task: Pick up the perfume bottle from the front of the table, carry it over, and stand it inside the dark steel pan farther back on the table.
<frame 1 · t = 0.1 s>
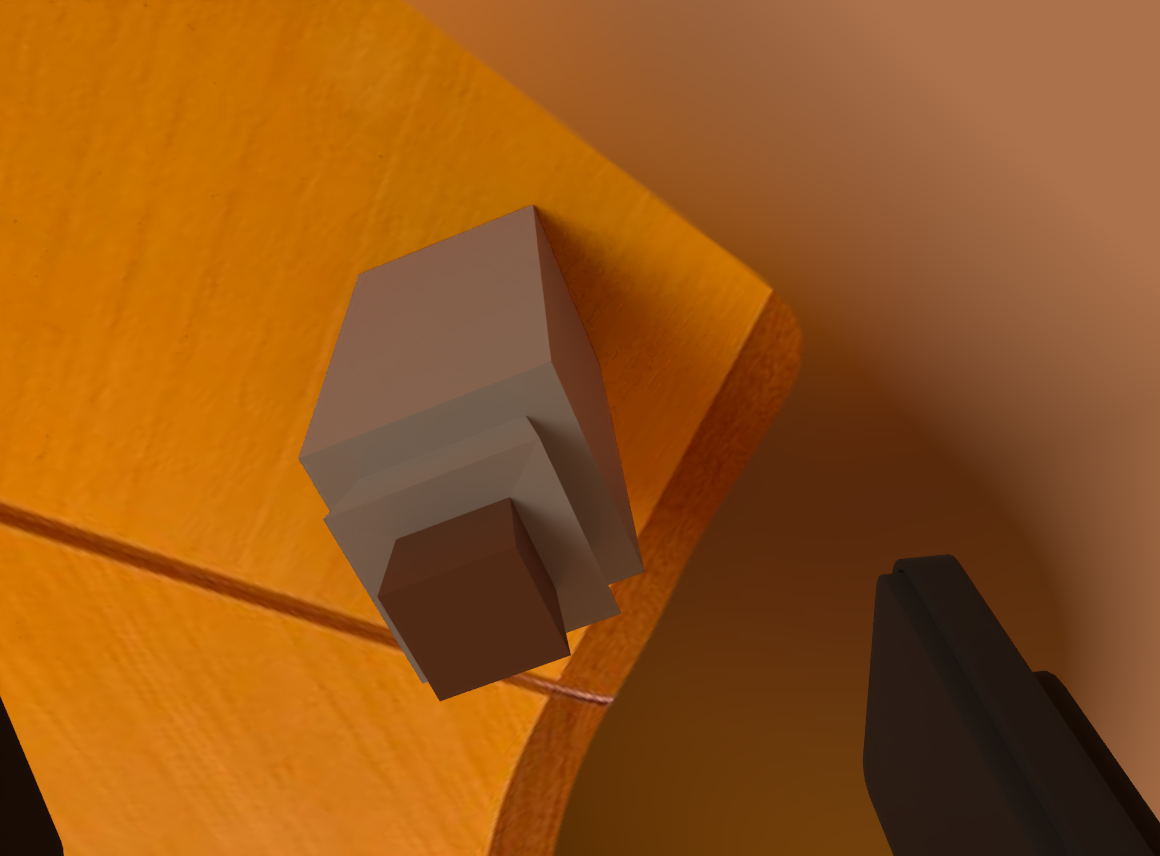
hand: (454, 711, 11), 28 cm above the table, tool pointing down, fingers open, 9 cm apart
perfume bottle: (482, 319, 40), on the table
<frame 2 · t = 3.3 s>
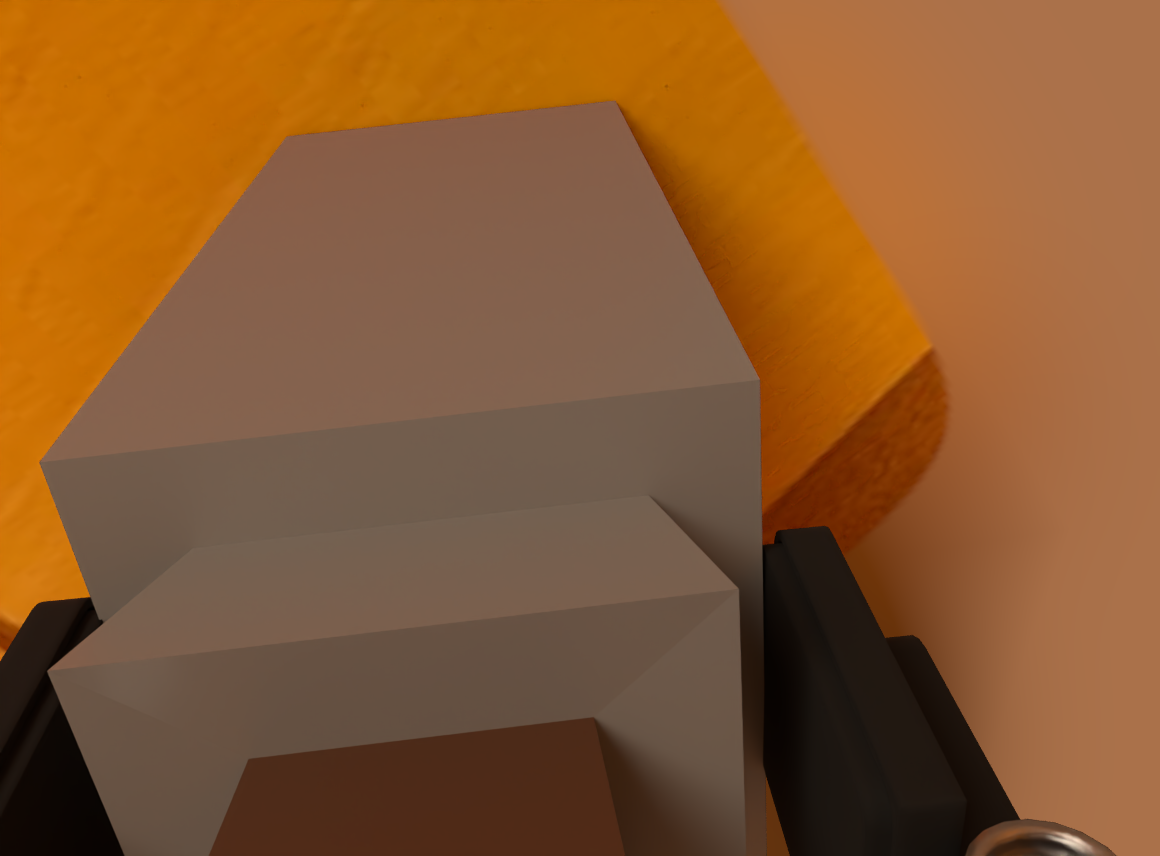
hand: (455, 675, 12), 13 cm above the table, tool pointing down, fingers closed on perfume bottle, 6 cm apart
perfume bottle: (474, 271, 24), on the table, touching gripper
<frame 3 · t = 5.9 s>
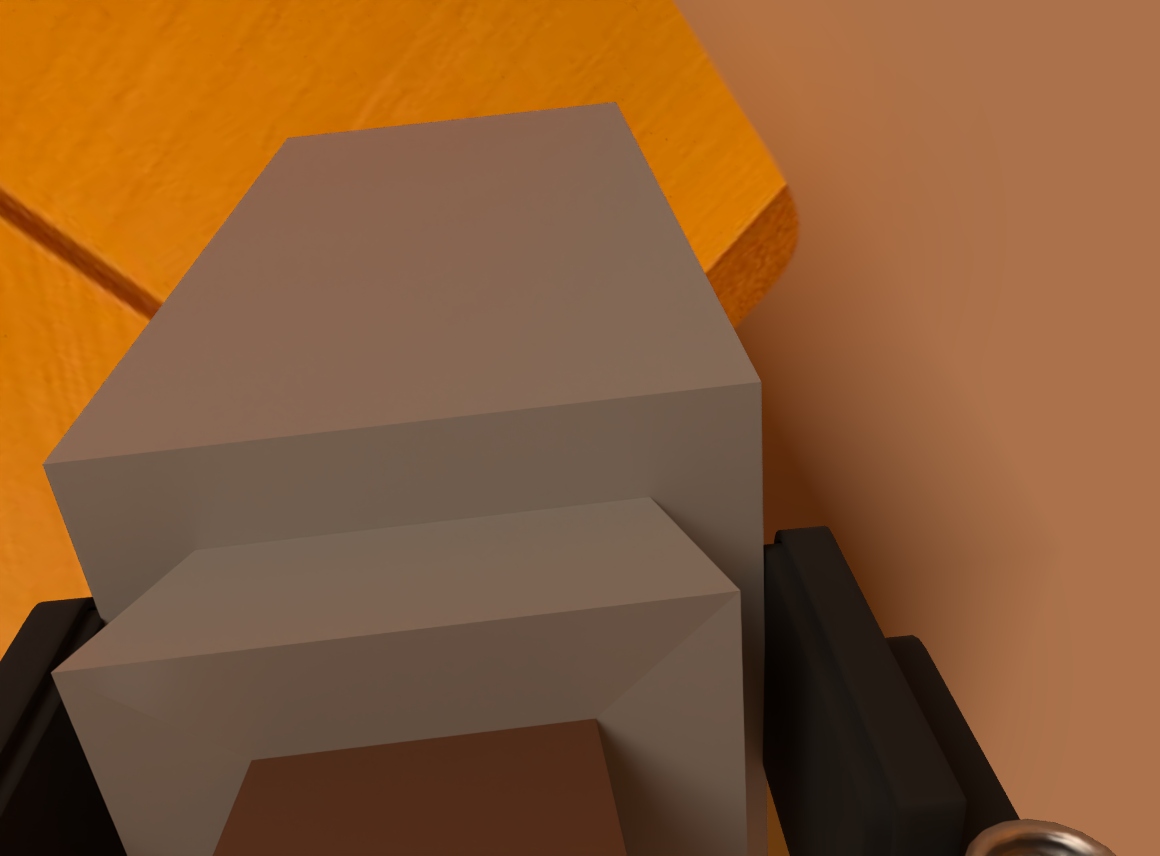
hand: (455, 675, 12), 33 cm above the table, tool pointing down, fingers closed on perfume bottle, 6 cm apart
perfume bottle: (475, 272, 24), point 19 cm above the table, touching gripper
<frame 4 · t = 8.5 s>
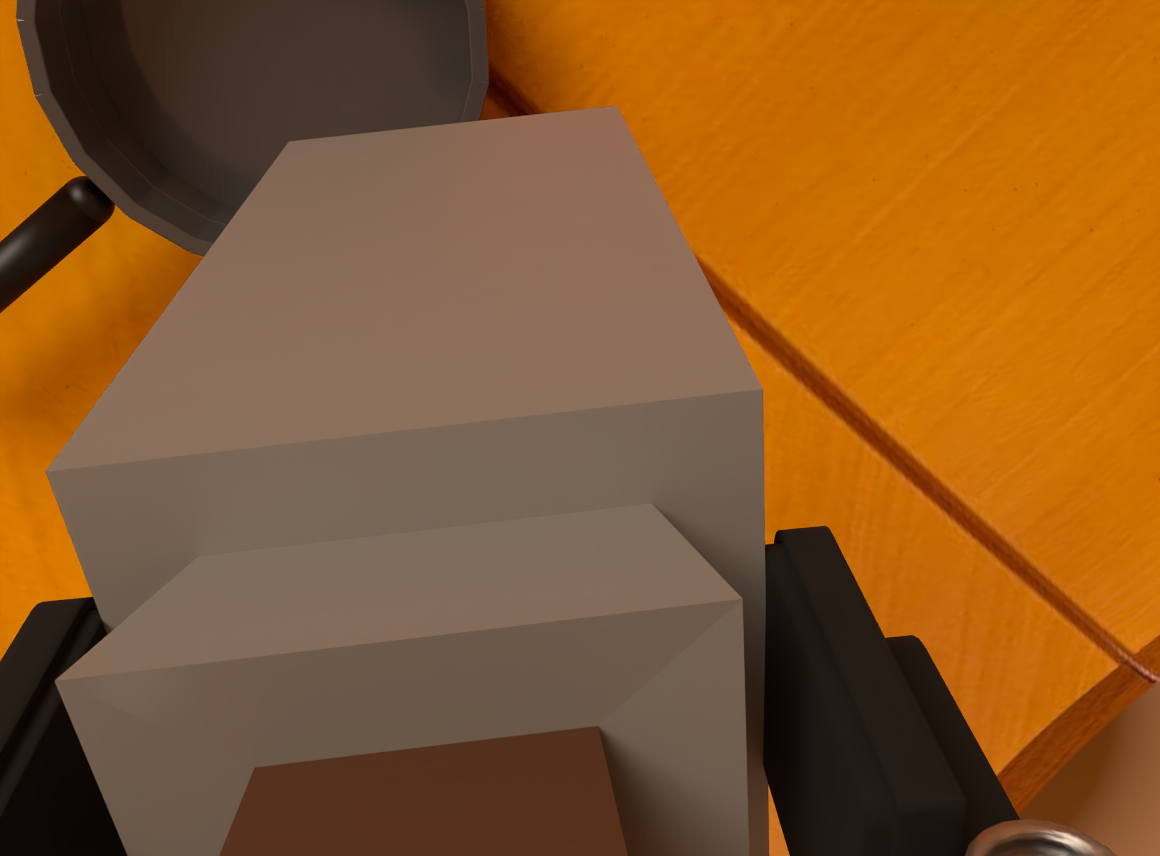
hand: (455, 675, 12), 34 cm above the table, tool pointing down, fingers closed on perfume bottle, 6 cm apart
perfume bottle: (476, 275, 24), point 20 cm above the table, touching gripper
pan: (284, 31, 40), on the table
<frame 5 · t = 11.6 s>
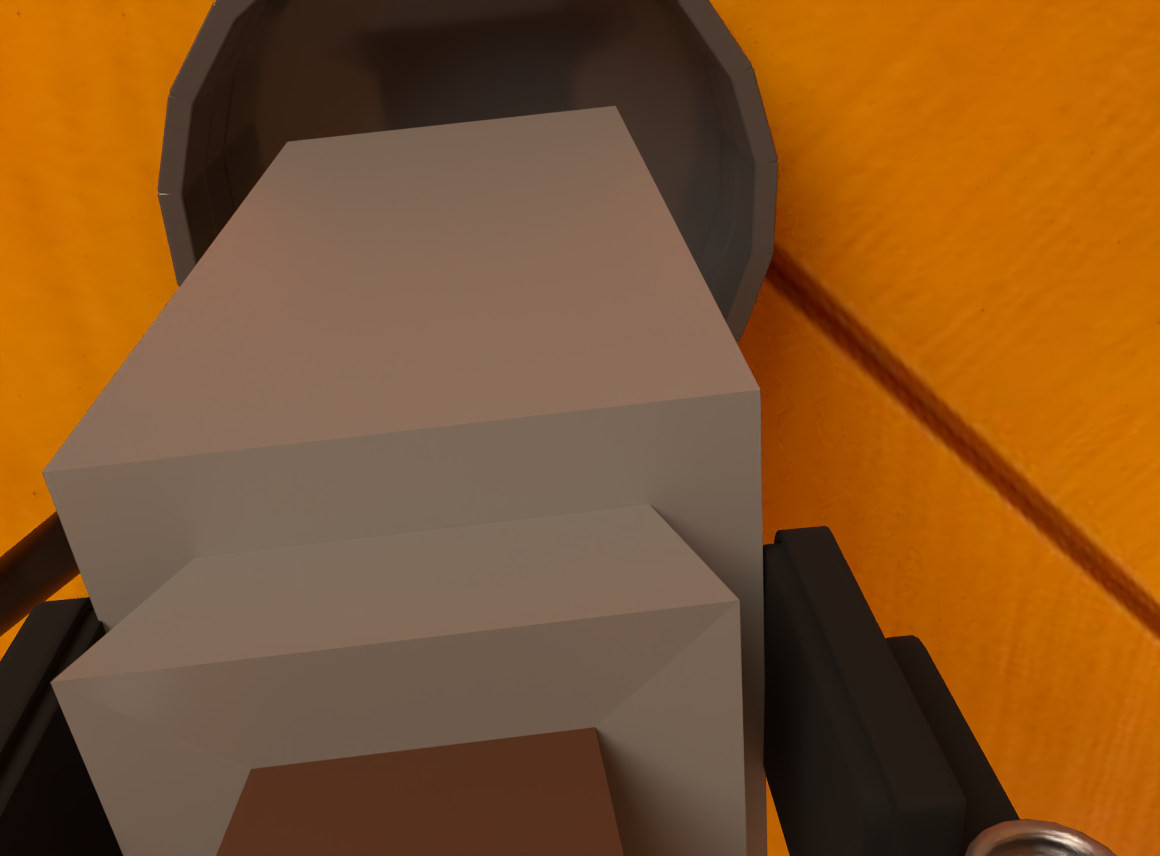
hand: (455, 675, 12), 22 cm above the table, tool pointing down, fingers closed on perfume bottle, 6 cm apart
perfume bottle: (474, 276, 24), point 9 cm above the table, touching gripper
pan handle: (100, 516, 31), point 3 cm above the table
pan: (478, 173, 31), on the table
when the fingers open (14 cm above the table, at t = 14.1 s): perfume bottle stays where it is, resting on pan.
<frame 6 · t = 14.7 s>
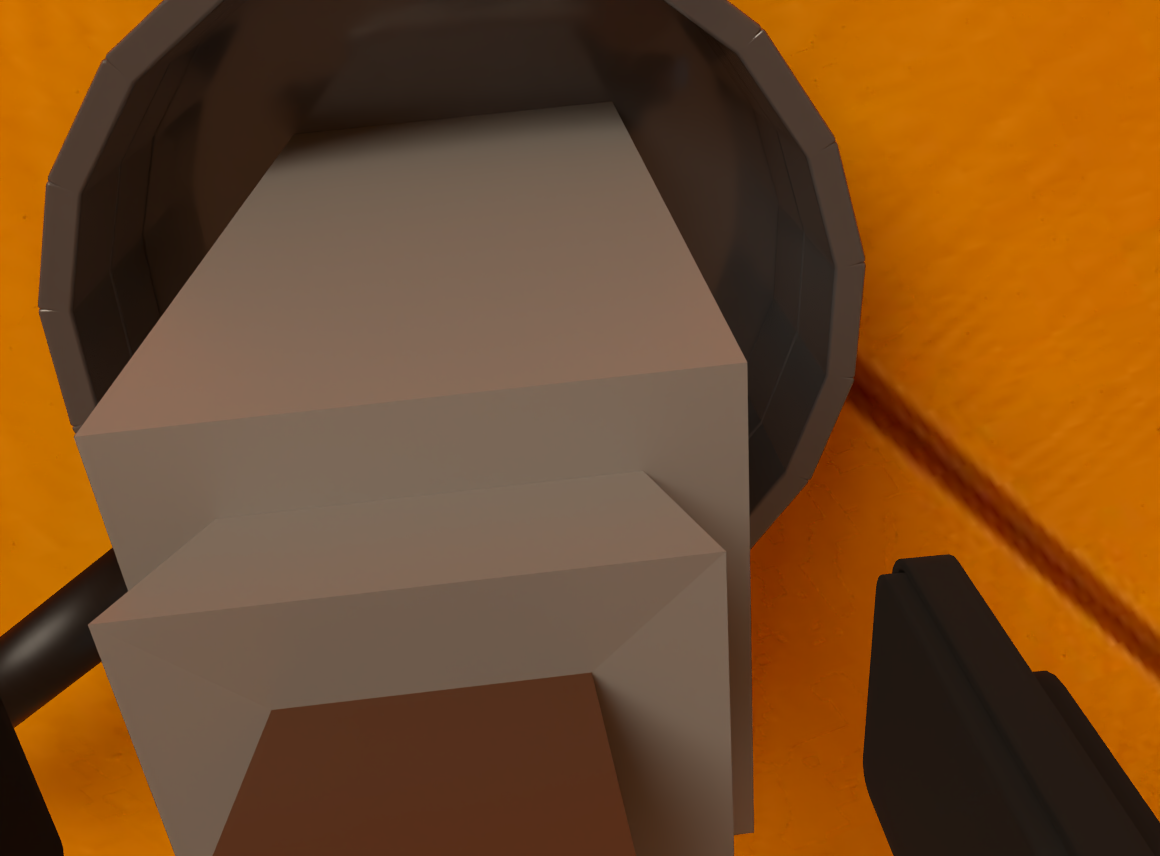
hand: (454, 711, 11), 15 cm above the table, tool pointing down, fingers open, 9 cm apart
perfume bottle: (474, 266, 24), resting on pan
pan: (469, 260, 25), on the table
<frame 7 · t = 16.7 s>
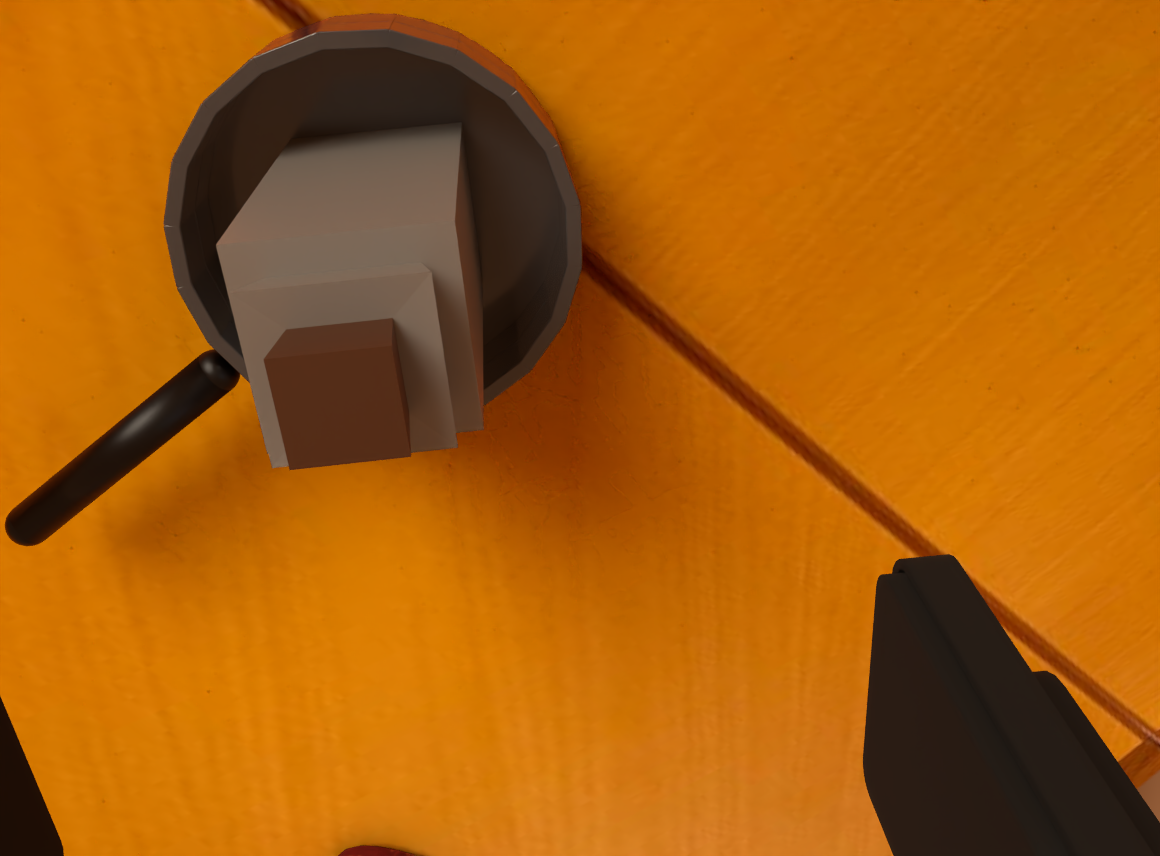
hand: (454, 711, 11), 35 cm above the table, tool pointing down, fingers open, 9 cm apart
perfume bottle: (390, 212, 44), resting on pan
pan handle: (120, 450, 44), point 3 cm above the table
pan: (388, 209, 44), on the table
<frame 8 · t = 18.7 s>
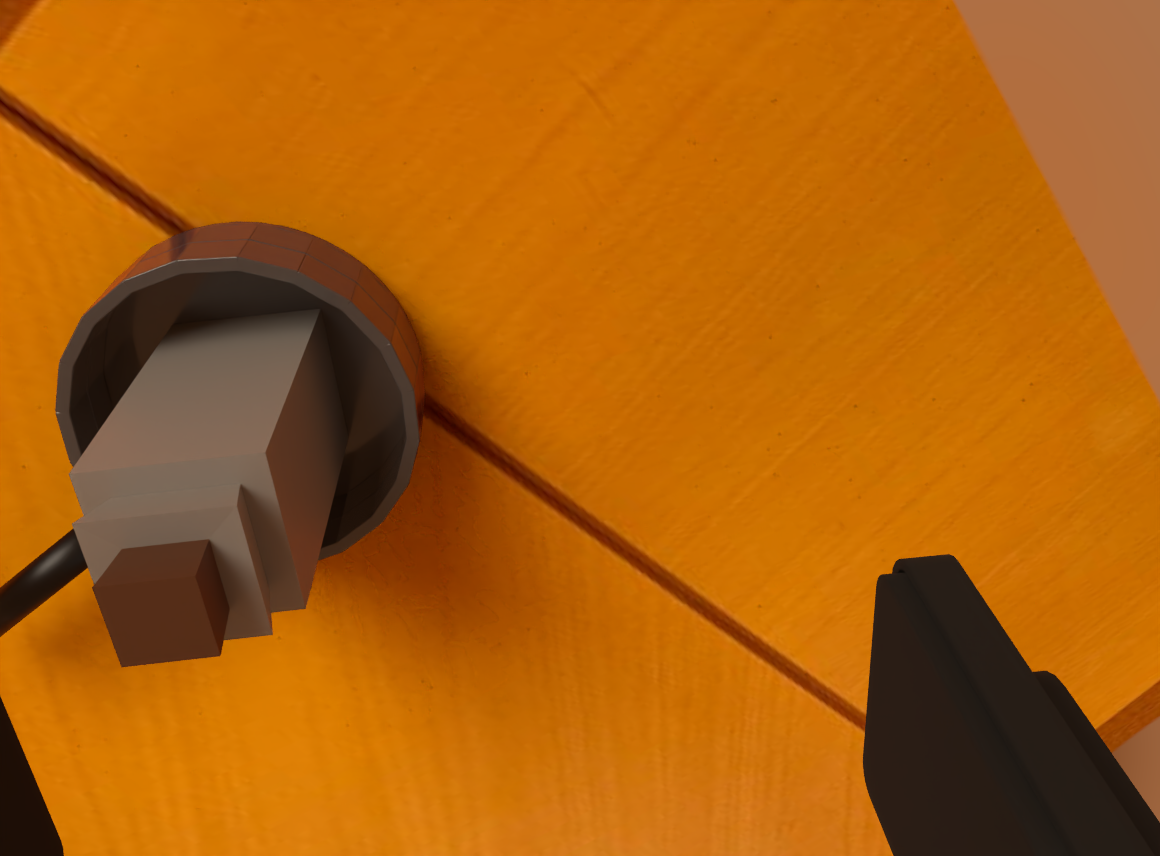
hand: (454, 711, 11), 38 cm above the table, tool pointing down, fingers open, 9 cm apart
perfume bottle: (264, 381, 51), resting on pan
pan handle: (31, 587, 51), point 3 cm above the table
pan: (262, 377, 51), on the table
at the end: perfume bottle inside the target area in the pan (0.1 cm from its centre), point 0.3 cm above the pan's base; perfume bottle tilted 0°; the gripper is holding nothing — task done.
